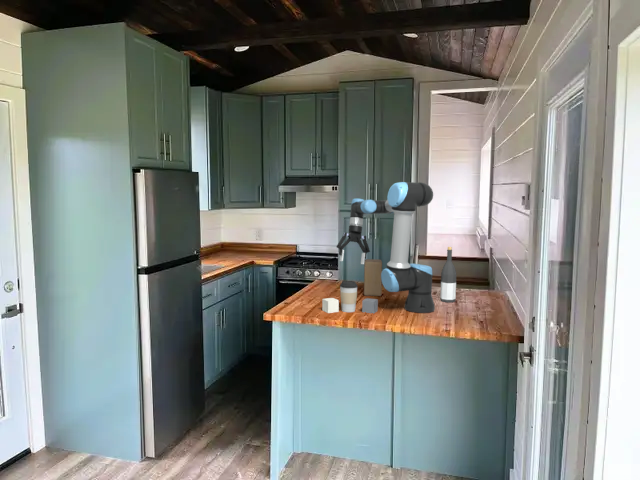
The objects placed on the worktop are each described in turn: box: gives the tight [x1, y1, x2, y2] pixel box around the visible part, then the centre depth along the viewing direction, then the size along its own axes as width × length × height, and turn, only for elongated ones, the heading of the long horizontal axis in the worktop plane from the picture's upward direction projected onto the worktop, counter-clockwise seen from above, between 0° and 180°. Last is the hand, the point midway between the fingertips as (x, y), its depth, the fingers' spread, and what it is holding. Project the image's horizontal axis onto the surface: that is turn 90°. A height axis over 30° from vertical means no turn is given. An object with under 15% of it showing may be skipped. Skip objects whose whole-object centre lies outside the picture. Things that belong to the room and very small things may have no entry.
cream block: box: [321, 297, 340, 314], centre depth 241 cm, size 6×6×6 cm
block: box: [363, 258, 383, 297], centre depth 279 cm, size 10×10×20 cm
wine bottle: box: [439, 246, 457, 304], centre depth 263 cm, size 8×8×30 cm
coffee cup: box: [339, 280, 359, 313], centre depth 241 cm, size 9×9×15 cm
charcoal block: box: [361, 297, 379, 314], centre depth 240 cm, size 6×6×6 cm
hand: (351, 262), depth 271 cm, fingers open, 13 cm apart
